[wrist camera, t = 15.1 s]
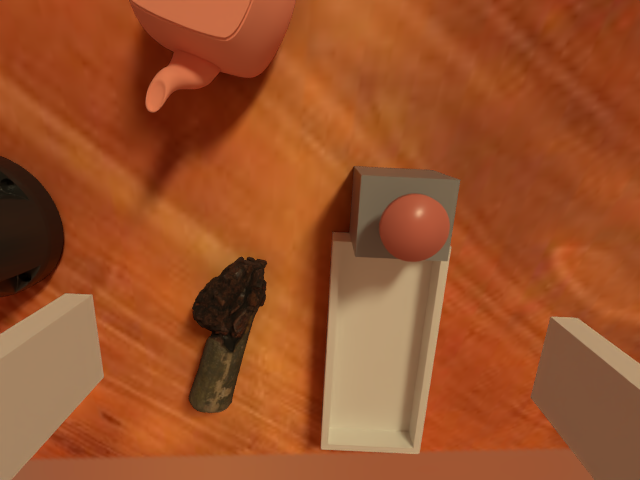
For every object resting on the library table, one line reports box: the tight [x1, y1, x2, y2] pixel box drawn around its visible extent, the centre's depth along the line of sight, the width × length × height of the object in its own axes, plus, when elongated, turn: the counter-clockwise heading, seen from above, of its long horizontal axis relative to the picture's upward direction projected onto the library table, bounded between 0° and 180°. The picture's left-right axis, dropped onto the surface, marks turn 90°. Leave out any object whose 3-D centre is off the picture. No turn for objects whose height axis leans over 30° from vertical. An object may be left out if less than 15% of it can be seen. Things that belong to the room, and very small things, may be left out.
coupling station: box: [321, 166, 460, 454], centre depth 37 cm, size 12×33×11 cm, turn 177°
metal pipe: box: [189, 257, 267, 413], centre depth 39 cm, size 18×7×6 cm, turn 161°
